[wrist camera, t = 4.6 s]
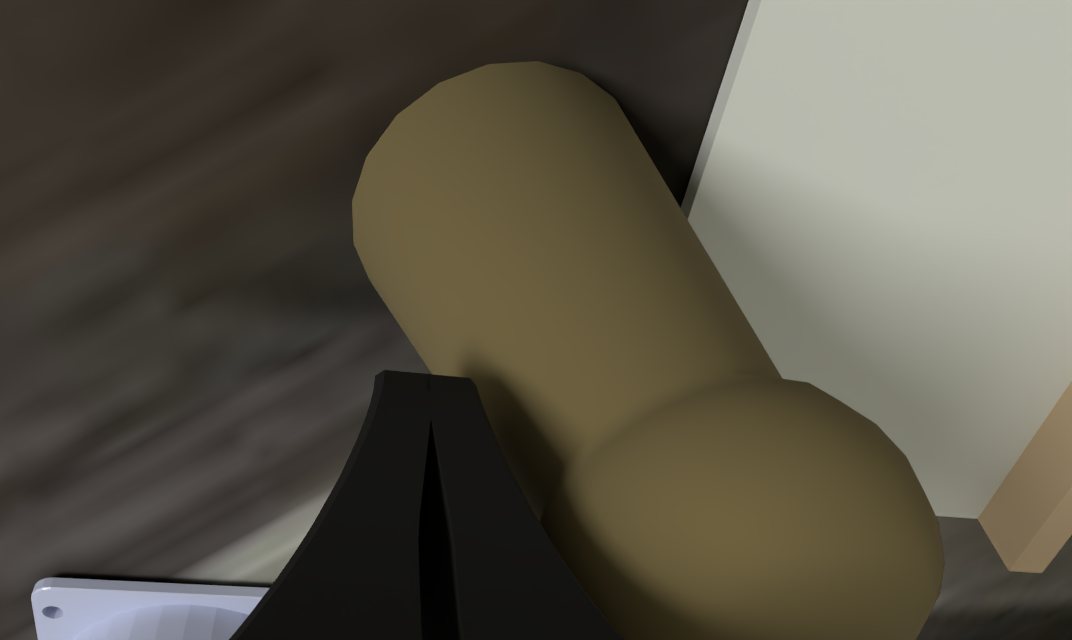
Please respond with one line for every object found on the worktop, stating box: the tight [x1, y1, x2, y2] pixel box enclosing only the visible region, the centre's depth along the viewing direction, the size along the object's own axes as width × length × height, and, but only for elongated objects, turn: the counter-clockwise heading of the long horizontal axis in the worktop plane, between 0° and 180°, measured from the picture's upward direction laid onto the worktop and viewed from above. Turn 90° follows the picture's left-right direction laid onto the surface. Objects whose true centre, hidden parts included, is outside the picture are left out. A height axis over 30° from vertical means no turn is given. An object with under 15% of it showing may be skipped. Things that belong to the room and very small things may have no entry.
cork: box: [352, 61, 944, 640], centre depth 15 cm, size 6×6×11 cm
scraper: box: [681, 0, 1072, 573], centre depth 21 cm, size 16×12×2 cm
